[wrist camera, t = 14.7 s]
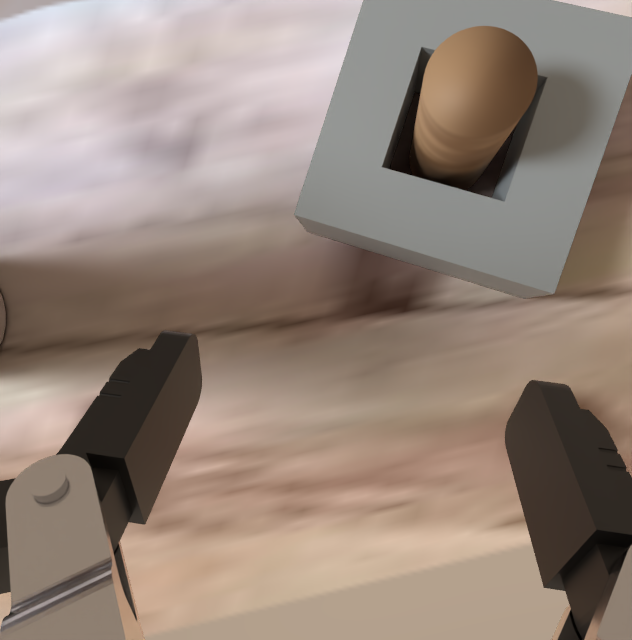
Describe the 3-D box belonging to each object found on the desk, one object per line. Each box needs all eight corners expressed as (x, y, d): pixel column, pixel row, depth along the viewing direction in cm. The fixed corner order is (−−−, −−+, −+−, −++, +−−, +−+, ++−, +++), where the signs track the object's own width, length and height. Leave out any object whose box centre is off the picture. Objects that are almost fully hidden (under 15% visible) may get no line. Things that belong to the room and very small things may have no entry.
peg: (399, 183, 30) (408, 120, 21) (422, 111, 30) (443, 14, 20) (472, 203, 29) (516, 148, 20) (497, 130, 29) (553, 40, 20)
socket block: (307, 231, 31) (293, 214, 26) (376, 20, 30) (375, -39, 25) (524, 298, 29) (554, 293, 24) (602, 73, 28) (650, 21, 23)
